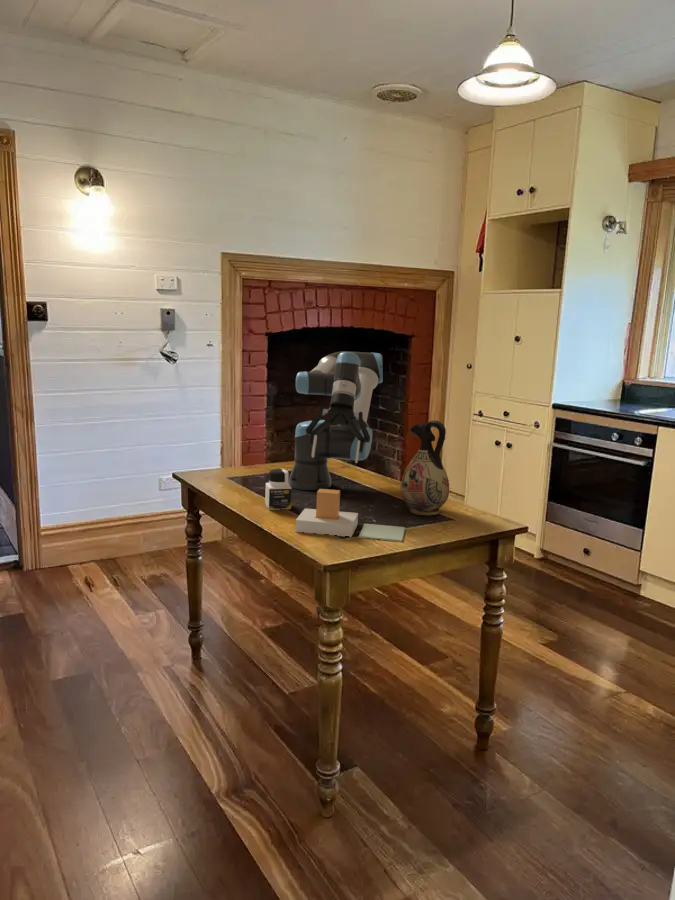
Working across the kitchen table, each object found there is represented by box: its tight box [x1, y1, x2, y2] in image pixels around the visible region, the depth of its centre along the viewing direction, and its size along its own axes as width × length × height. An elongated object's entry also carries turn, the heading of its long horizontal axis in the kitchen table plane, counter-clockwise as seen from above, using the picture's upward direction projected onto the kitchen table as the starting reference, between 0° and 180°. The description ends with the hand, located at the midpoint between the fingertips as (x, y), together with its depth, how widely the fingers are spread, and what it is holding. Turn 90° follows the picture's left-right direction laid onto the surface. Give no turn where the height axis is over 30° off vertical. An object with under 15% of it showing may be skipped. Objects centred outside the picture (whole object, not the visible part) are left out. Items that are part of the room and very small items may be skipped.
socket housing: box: [295, 507, 359, 538], centre depth 197 cm, size 12×16×4 cm
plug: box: [316, 488, 341, 520], centre depth 196 cm, size 4×6×11 cm, turn 80°
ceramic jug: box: [400, 420, 450, 516], centre depth 214 cm, size 17×15×30 cm
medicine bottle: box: [264, 468, 293, 511], centre depth 215 cm, size 7×7×12 cm
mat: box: [358, 523, 406, 543], centre depth 195 cm, size 12×12×1 cm
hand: (334, 458), depth 211 cm, fingers open, 13 cm apart
